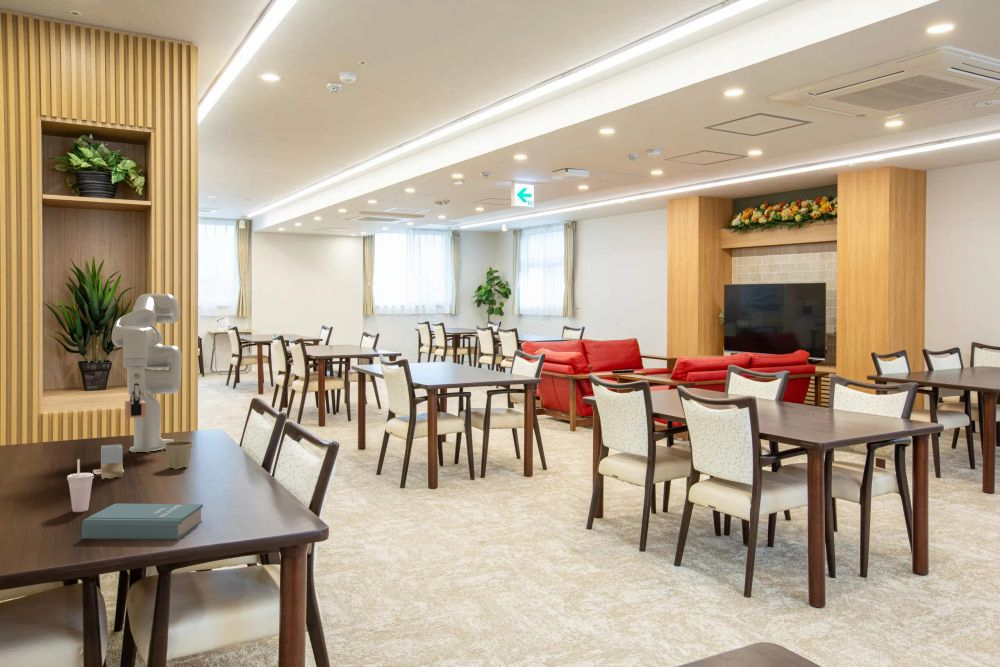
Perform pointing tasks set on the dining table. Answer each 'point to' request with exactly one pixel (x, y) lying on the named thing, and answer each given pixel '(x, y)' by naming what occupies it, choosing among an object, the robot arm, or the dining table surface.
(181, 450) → the flower pot
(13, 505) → the dining table surface
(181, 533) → the book
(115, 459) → the slate blue brick
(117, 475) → the maple brick
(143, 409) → the terracotta brick
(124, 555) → the dining table surface
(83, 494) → the smoothie
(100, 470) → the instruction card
